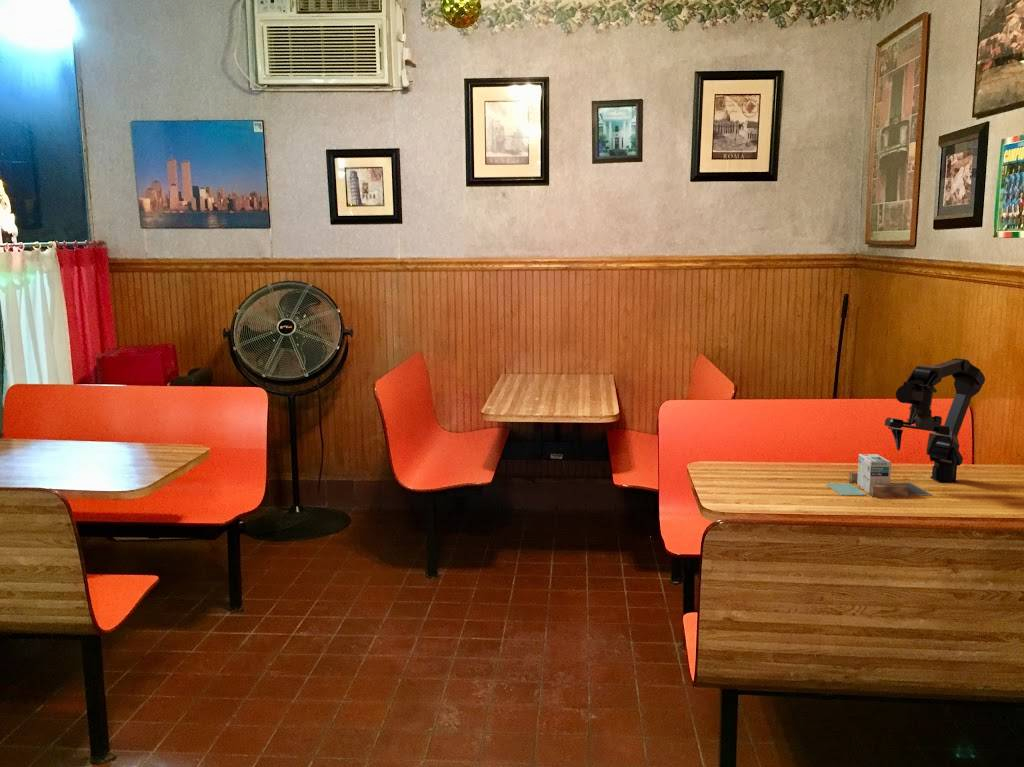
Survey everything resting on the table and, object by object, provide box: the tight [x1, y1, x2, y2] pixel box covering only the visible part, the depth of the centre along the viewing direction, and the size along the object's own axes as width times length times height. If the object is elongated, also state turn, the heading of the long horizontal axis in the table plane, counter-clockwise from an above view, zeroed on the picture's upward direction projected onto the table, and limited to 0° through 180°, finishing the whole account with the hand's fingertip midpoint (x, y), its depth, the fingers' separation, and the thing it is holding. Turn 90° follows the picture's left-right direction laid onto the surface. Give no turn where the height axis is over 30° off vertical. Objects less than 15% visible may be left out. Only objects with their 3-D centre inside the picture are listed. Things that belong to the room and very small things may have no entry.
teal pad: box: [825, 482, 867, 497], centre depth 275 cm, size 8×13×1 cm, turn 2°
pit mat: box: [890, 482, 933, 496], centre depth 275 cm, size 8×14×1 cm, turn 1°
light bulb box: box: [856, 453, 892, 495], centre depth 274 cm, size 11×7×11 cm, turn 179°
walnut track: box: [848, 471, 908, 498], centre depth 275 cm, size 11×18×4 cm, turn 2°
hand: (912, 452), depth 274 cm, fingers open, 9 cm apart
